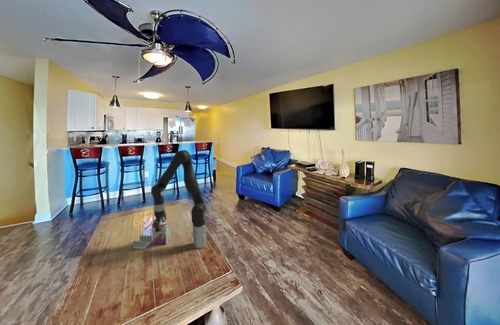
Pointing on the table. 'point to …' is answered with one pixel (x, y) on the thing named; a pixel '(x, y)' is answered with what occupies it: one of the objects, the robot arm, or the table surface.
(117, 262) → the table surface
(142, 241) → the slotted rack
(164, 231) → the candy bar box
